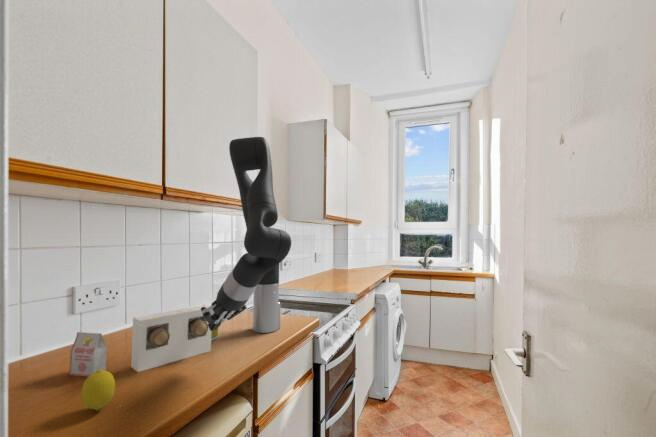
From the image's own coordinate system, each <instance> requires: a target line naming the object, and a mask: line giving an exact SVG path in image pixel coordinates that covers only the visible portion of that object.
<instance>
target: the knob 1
mask: <svg viewBox="0 0 656 437" xmlns="http://www.w3.org/2000/svg"><path fill="white" fill-rule="evenodd" d="M169 337H170V334H169V332H168V331H167V330H165V329H163V328H161V327H156V328H154V329H152V330H150V331H149V333H148V341H149V343H151V344H152V345H154V346H156V347H161V346H164V345H165V344H166V343H167V342H168V340H169Z"/></svg>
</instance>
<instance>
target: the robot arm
mask: <svg viewBox="0 0 656 437" xmlns="http://www.w3.org/2000/svg"><path fill="white" fill-rule="evenodd" d="M228 147H229V148H228V149H229V158H230V160H231V161H230V162H231V164H232V167H233V168H232V169H233V171H234V172H233V173H234V175H235V178H236V183H237V187H238V191H239V197H240V203H241V209H242V214H243V218H244V222H245V227H246V231H245V236H244V240H243V244H244V249H245V251H246V253H245V254H243V255H242V256H241V257H240V258H239V260H238V261H237V263H236V265H235V266H234V268H233V269H232V270H231V271H230V272H229V274H228V275H227V277H226V278H225V280H224V282H223V283H222V285H221V287H220V289H219V290H218V291H217V293H216V298H215V300H214V301H213V302H211V305H210V306H209V307H208V308H206V307H202V308H201V311H202V314H203V317H204V318H205V319H206V321H207V322H208V326H209V329H210V330H211V331H213V330H217V328H218V329H219V327H220V326H221V325H222V324H223V323H225V321H226V320H227V321H229V320H231V319H234V317H235V318H236V317H237V315H239V314H241V313H242V312H244V311H245V310H247V305H246V304H247V302H248V301H249V300H250V299H251V296H252V295H253V306H252V308H253V311H252V312H253V313H252V331H253V332H255V333H261V334H266V333H267V334H268V333H274V332H276V331H278V329H280V328H281V306H282V305H281V302H280V301H279V300H280V299H279V298H280V263H281V262H283V261H284V260H285V259H286V257H287V256H288V255H289V253H290V251H291V247H292V238H291V236H290V234H289V233H288V232H287V231H286V230H284V229H278V228H273V226H274V225H276V223H277V221H278V217H279V214H278V209H277V204H276V199H275V195H274V182H273V167H272V166H273V164H272V158H271V156H272V155H271V149H270V145H269V143H268V140H267V139H266V138H265V137H263V136H250V137H242V138H235V139H232V140H231V141H230V142H229V146H228ZM248 171H259V172H258V173H257V176H256V177H255V179H254V180H252V179H251V178H250V176H249V174H248ZM212 311H214V312H213V314H212V315H211V313H212Z"/></svg>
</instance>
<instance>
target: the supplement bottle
mask: <svg viewBox="0 0 656 437" xmlns="http://www.w3.org/2000/svg"><path fill="white" fill-rule="evenodd" d="M213 312H214V311H212V314H213ZM218 337H219V327H218V328H217V330H213V331H211V341H215V340H216V339H217V338H218Z"/></svg>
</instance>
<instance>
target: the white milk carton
mask: <svg viewBox="0 0 656 437" xmlns="http://www.w3.org/2000/svg"><path fill="white" fill-rule="evenodd" d="M107 348H108V347H107V345H106V343H105V341H104V338H103V334H102V333H98V332H83V331H82V332H81V331H77V332H76V336H75V338H74V341H73V344H72V346H71V349H70V351H69V352H70V355H69V356H70V357H69V373H68V374H69V376H77V377H87V378H88V377H89V376H90V375H91V374H93V373H94V372H97V370H99V369H102V370H104V371H107V351H108V350H107Z"/></svg>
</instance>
